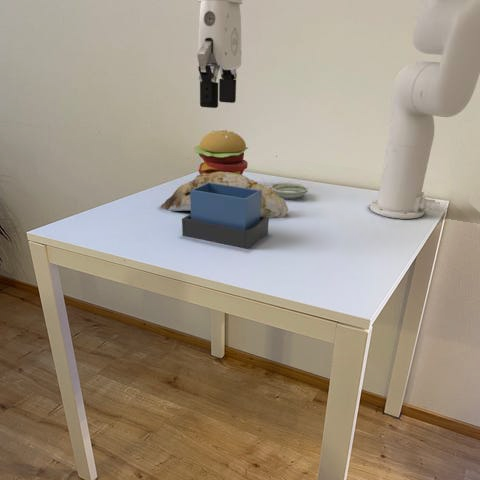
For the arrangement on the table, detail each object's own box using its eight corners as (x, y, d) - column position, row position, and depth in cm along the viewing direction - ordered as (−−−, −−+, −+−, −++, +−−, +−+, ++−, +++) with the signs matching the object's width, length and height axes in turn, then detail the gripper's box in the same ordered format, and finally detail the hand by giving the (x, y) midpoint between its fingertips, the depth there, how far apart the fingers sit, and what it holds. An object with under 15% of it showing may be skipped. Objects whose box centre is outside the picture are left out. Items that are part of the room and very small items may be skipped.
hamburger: (245, 199, 120) (247, 136, 113) (191, 196, 121) (190, 134, 113) (248, 182, 134) (250, 125, 127) (201, 180, 135) (200, 123, 127)
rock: (172, 160, 117) (293, 162, 111) (177, 198, 123) (293, 201, 116) (148, 182, 105) (283, 185, 98) (154, 223, 110) (283, 228, 104)
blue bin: (259, 234, 97) (261, 190, 93) (244, 245, 92) (246, 199, 87) (208, 224, 102) (208, 182, 97) (191, 234, 96) (190, 190, 92)
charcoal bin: (267, 236, 98) (268, 217, 96) (247, 251, 91) (248, 231, 89) (206, 224, 103) (206, 205, 101) (182, 237, 96) (181, 218, 94)
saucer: (306, 192, 127) (307, 183, 126) (308, 202, 119) (309, 193, 118) (270, 190, 128) (271, 181, 126) (269, 201, 119) (269, 191, 118)
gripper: (223, -13, 71) (221, 111, 80) (256, -3, 86) (251, 102, 94) (177, -14, 73) (180, 107, 82) (216, -3, 87) (215, 99, 96)
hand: (218, 104), depth 88 cm, fingers open, 9 cm apart
